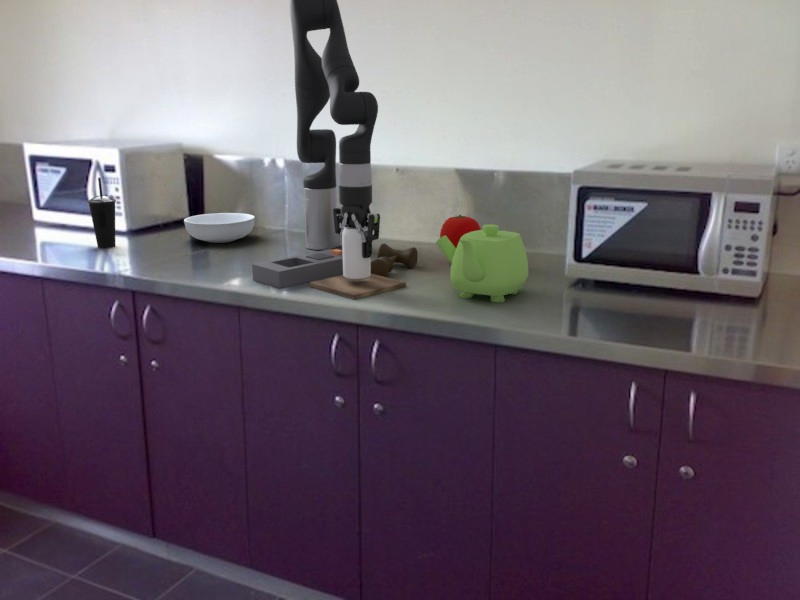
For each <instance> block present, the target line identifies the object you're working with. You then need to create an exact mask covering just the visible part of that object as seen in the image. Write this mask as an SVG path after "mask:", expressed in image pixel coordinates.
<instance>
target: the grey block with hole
mask: <svg viewBox="0 0 800 600" xmlns="http://www.w3.org/2000/svg"><path fill="white" fill-rule="evenodd" d="M251 268H252V281H255V282H258V283H261V284H264V285H268V286H271V287H273V288H277V289H284V288H288V287H291V286H293V287H294V286H297V285H302V284H305V283H309V282H313V281H318V280H322V279H327V278H331V277H335V276H340V275H343V251H342V249H338V248H333V249H325V250H319V251H313V252H309V253H304V254H303V253H302V254H297V255H293V256H287V257H281V258H276V259H271V260H265V261H260V262H256V263H252V264H251Z"/></svg>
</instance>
